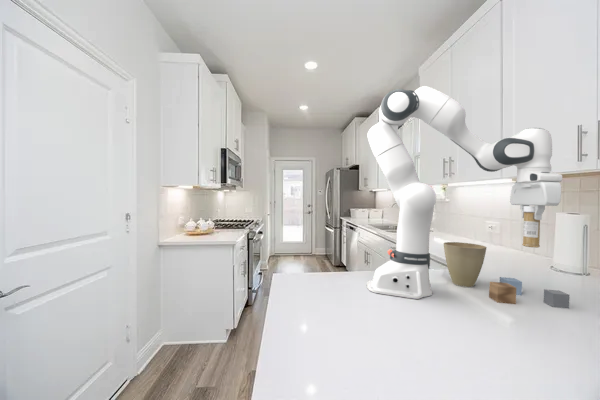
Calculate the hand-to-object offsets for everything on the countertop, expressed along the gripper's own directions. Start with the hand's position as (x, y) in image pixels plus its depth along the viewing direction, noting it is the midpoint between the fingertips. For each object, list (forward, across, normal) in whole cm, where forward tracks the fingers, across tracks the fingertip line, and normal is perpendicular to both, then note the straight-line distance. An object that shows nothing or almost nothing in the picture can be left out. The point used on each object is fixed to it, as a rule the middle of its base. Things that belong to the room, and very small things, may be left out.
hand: (531, 219), depth 94 cm
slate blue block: (+28, -11, 0) cm, 30 cm away
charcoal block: (+28, 0, +8) cm, 29 cm away
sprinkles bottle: (+9, 0, 0) cm, 9 cm away
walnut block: (+28, 0, -8) cm, 29 cm away
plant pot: (+28, -17, -14) cm, 36 cm away
